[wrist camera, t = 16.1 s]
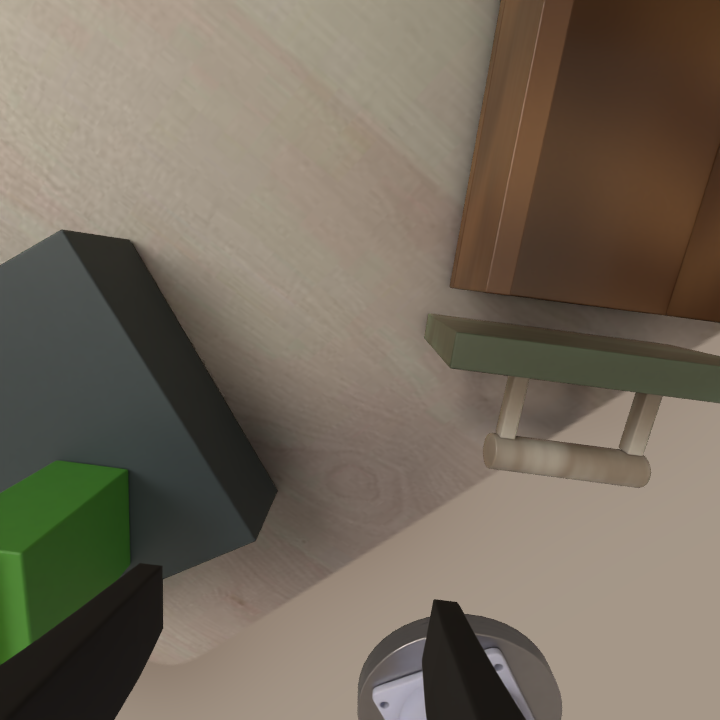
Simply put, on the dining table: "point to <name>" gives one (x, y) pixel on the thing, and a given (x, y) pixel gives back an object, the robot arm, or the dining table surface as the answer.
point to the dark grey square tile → (122, 400)
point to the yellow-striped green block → (59, 546)
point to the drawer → (593, 213)
